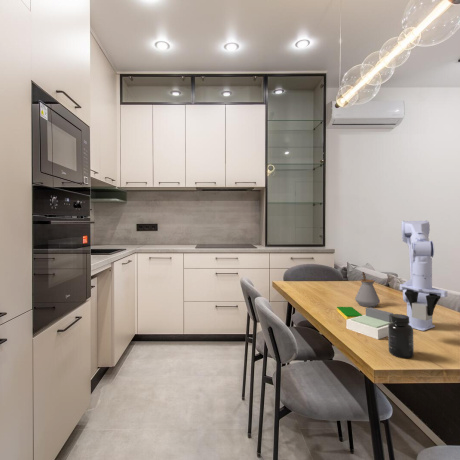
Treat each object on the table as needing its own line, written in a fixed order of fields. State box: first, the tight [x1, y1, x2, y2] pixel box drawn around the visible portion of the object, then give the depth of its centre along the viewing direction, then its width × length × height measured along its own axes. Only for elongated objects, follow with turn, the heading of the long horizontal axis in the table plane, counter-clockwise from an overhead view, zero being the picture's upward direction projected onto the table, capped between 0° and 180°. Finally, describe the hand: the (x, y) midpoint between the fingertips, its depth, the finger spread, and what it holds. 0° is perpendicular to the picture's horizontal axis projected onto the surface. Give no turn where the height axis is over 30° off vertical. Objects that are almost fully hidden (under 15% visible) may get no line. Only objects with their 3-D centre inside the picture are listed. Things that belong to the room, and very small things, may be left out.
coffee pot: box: [354, 271, 381, 308], centre depth 150 cm, size 21×12×15 cm, turn 162°
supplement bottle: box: [387, 313, 415, 359], centre depth 89 cm, size 7×7×12 cm
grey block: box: [412, 301, 433, 321], centre depth 100 cm, size 4×4×5 cm
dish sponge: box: [336, 306, 363, 321], centre depth 129 cm, size 7×14×2 cm, turn 176°
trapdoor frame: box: [345, 314, 388, 340], centre depth 110 cm, size 14×13×4 cm
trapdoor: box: [352, 307, 394, 328], centre depth 110 cm, size 11×10×4 cm
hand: (422, 313), depth 100 cm, fingers closed on grey block, 4 cm apart
